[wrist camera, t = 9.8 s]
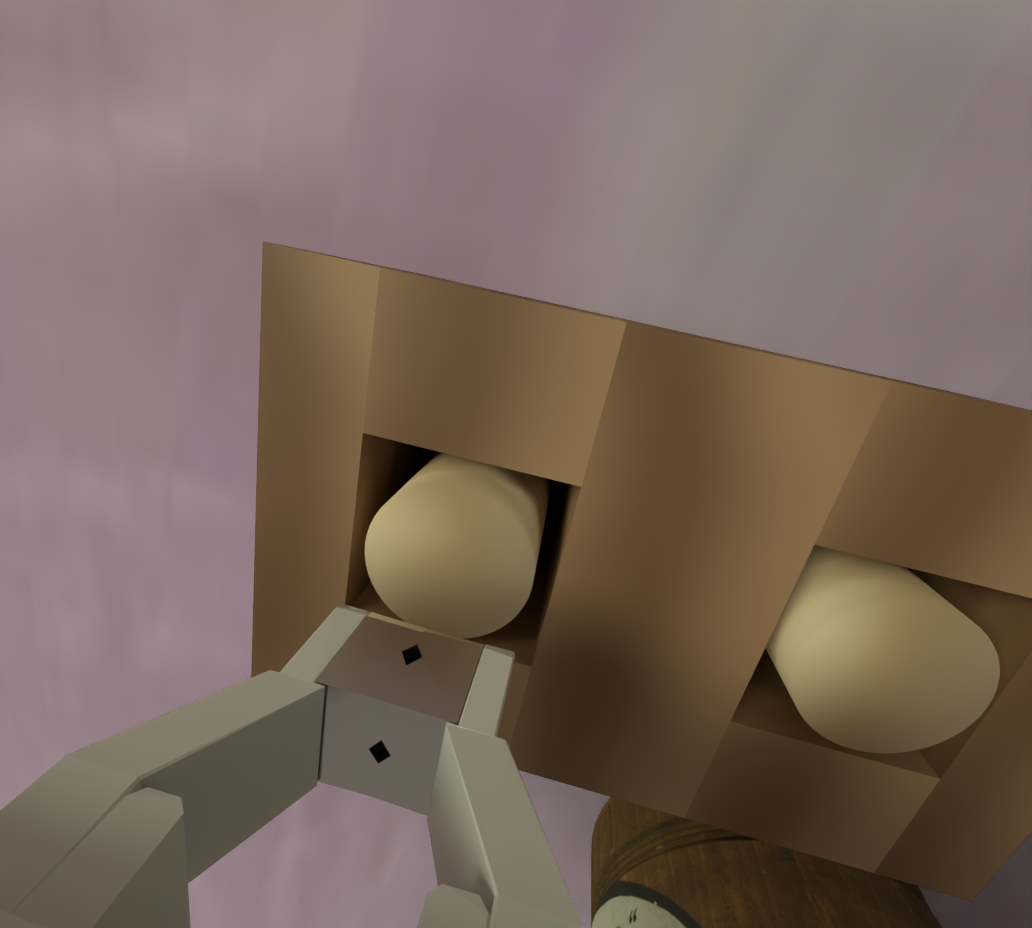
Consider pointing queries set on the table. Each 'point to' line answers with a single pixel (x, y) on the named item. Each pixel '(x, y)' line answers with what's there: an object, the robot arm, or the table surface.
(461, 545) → the peg
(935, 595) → the peg
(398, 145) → the table surface
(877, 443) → the socket block
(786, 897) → the wooden container
